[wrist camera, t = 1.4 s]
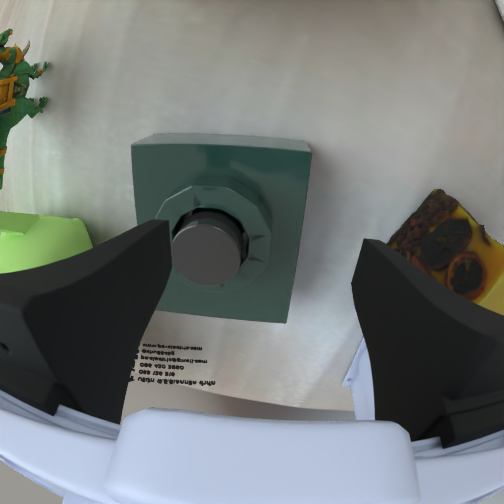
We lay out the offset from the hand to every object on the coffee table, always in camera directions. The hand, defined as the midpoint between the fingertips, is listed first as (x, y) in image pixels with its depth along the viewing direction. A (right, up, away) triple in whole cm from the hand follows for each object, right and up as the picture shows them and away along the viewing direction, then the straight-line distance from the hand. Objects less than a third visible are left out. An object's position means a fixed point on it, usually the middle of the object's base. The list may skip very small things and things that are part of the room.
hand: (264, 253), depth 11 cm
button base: (-2, +2, +10) cm, 11 cm away
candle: (+14, -1, +11) cm, 18 cm away
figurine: (-17, +12, +6) cm, 22 cm away
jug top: (-3, +1, +5) cm, 6 cm away
